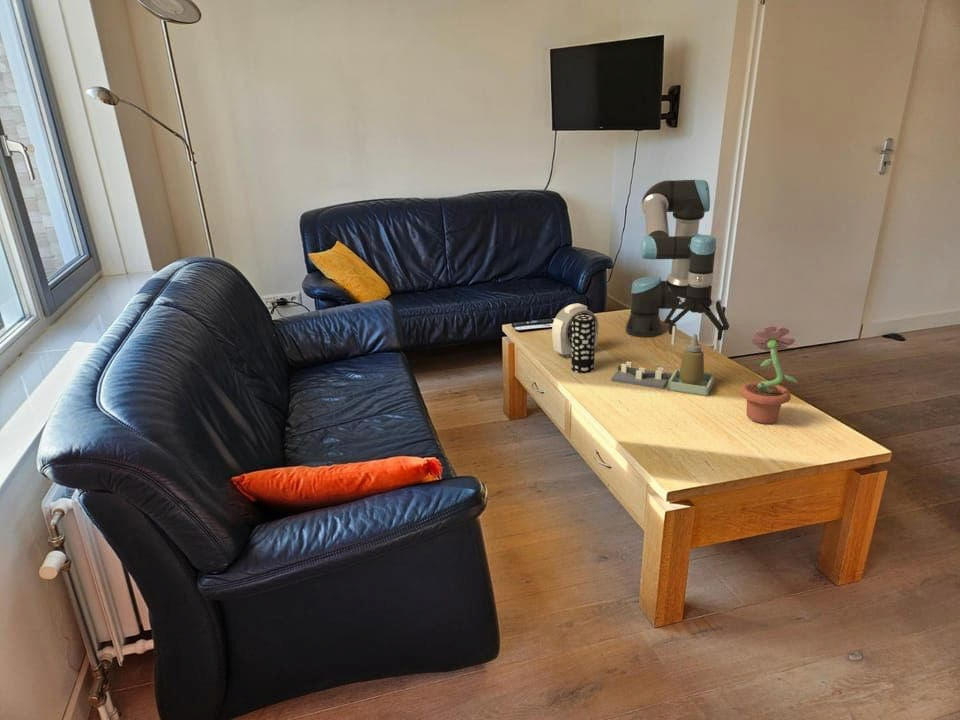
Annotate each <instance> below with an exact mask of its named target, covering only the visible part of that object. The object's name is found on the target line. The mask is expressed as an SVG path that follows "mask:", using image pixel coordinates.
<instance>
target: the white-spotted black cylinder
mask: <svg viewBox="0 0 960 720" xmlns="http://www.w3.org/2000/svg"><path fill="white" fill-rule="evenodd" d="M595 348H596V347H595V316H593V315H588V314H579V315H574V316H573V317H572V357H571V358H570V361H571V362H570V363H571V364H570V365H571V367H570V368H571V369H570V370H571V371H572V372H574V373H578V374H588V373H589V374H590V373H592V372H594V371H595Z"/></svg>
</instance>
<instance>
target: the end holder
mask: <svg viewBox="0 0 960 720" xmlns="http://www.w3.org/2000/svg"><path fill="white" fill-rule="evenodd" d="M679 373H680V368H675V369H674V371H673V373H672V374H671V377H670V379H669V380H668V382H667V389H666V390H667V391H670V392H676V393H682V394H691V395H697V396H704V397H708V396H709V394H710V392H711V390H712V387H713V385H714V383H715V373H712V372H711V373H710V372H705V371H704V378H703V380H702V382H701V384H700V386H698V385H691V384H684V383H681V379H680V375H679Z"/></svg>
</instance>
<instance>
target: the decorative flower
mask: <svg viewBox="0 0 960 720" xmlns="http://www.w3.org/2000/svg"><path fill="white" fill-rule="evenodd" d="M788 334H790V330H789V329H788V328H786V327H782V326H781V327H779V328H778V327H777V326H775V325H769V326H765V327H764V329H763V330H761V329H758V330H755V332H754V333H753V335H752V336H753V338H751V342H752V344H753V345H755V346H756V347H757V348H758V349H760V350H763V351H769V352H770V357H771V358H767V359H765V360H764V361H762V363H761V364H759V365H760V366H759V367H767V366H769V365H770V364H771V363H773V367H774V370H775V373H776V378H774V379H772V380H766V381H750V382H746V383H745V384H743V385H742V386H741V387H740V390H739V391H740V392H739V394H740V396H741V398H743V399H745V400H746V416H747V418H748V419H749V420H750V421H752V422H755V423H759V424H765V425H766V424H773V423H775V422H777V421H778V419H779V415H780V411H781V406H782V405H785V404H786V403H789V402H790V401H791V397H792V395H791V393H790V391H789V389H788V388H786V387H784V386H783V385H780V384H781V383H782V382H783V380H784V378H785V379H786V380H787V381H789V382H793V383H797V384H798V383H799V382H798V381H797V380H796V379H795V377H793V376H790V375H787V374H784V371H783V368H782V366H781V362H780V359H779V353H778V351H781V350H786V349H789V346H791V345H793V344H794V343H795V342H796V339H795V338H789V337H788V336H786V335H788Z"/></svg>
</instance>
